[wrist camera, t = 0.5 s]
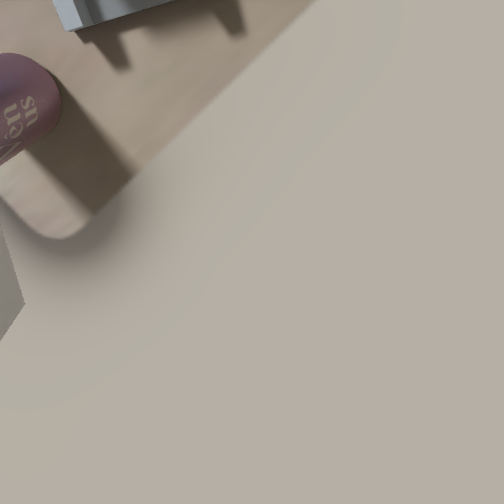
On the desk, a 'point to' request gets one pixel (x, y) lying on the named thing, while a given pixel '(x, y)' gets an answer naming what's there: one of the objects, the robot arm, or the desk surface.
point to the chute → (98, 11)
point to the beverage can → (25, 104)
